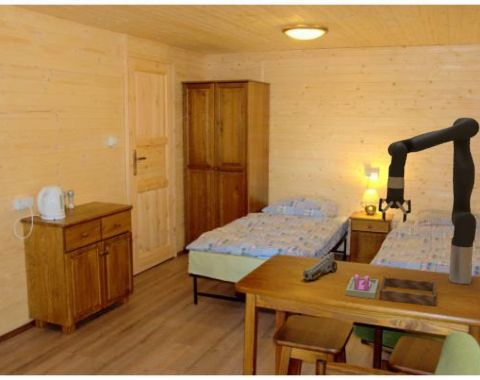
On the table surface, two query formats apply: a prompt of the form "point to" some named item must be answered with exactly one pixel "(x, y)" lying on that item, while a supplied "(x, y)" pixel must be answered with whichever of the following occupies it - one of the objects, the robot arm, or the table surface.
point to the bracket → (362, 284)
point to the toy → (321, 267)
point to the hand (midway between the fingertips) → (394, 221)
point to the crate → (406, 296)
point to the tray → (365, 294)
